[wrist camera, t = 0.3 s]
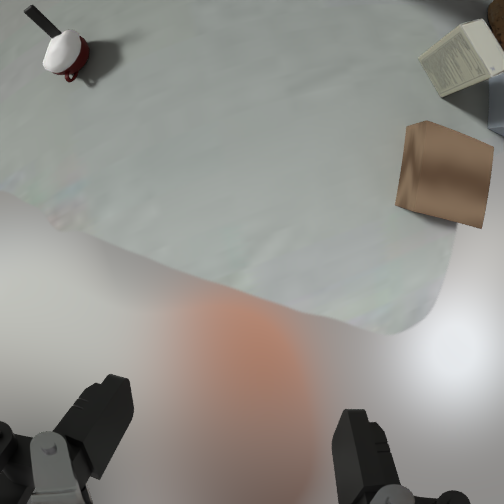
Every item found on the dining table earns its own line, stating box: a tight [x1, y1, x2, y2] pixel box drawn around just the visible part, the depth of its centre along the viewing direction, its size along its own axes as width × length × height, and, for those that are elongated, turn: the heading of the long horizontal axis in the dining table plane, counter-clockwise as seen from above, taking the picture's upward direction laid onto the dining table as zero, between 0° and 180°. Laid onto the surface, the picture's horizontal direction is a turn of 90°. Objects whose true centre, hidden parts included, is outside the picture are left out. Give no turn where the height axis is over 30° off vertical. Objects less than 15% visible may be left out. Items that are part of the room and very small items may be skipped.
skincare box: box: [418, 19, 504, 98], centre depth 24 cm, size 6×4×12 cm
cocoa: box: [24, 5, 89, 82], centre depth 27 cm, size 10×6×12 cm, turn 169°
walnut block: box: [395, 121, 494, 229], centre depth 31 cm, size 10×10×6 cm
